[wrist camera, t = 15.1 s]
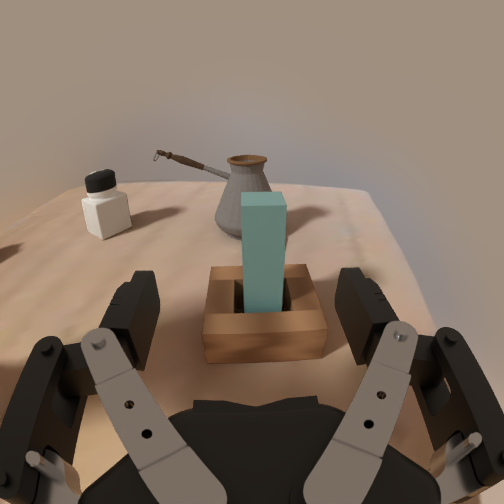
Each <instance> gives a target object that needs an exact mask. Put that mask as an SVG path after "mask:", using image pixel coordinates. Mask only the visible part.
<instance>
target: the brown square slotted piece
mask: <svg viewBox="0 0 504 504" xmlns="http://www.w3.org/2000/svg"><path fill="white" fill-rule="evenodd" d="M282 306H284V307H285V312H264V313H236V308H244V288H243V266H224V267H211V272H210V278H209V285H208V292H207V299H206V306H205V314H204V321H203V329H202V338H203V344H204V350H205V355H206V360H207V363H258V362H278V361H293V360H306V359H317V358H322V355H323V351H324V346H325V342H326V337H327V333H328V326H327V323H326V320H325V317H324V315H323V312H322V309H321V306H320V303H319V300H318V297H317V294H316V291H315V288H314V286H313V283H312V280H311V277H310V274H309V272H308V269H307V266H306V264H290V265H284V279H283V297H282Z"/></svg>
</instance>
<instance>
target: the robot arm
mask: <svg viewBox="0 0 504 504" xmlns="http://www.w3.org/2000/svg"><path fill="white" fill-rule="evenodd" d="M335 309H336V312H337V314H338V317H339V319H340V322H341V324H342V327H343V330H344V332H345V335H346V337H347V340H348V343H349V345H350V348H351V351H352V354H353V356H354V359H355V362H356V364H357V365H363V364H366V365H367V367H368V369H367V371H366V373H365V376H364V378H363V380H362V382H361V384H360V386H359V388H358V390H357V392H356V394H355V396H354V398H353V400H352V402H351V404H350V406H349V408H348V410H347V412H346V413H345V412H343V411H342V410H339V409H337V408H335V407H332V406H328V405H324V404H319V403H318V399H317V396H308V397H297V398H287V399H283V400H280V401H276V402H273V403H269V404H266V405H262V406H257V407H254V406H248V405H243V404H238V403H233V402H228V401H211V400H194V403H193V408H192V409H188V410H184V411H181V412H179V413H176V414H174V415H172V416H171V417H169V418H167V417H166V415H165V414H164V412H163V411H162V410H161V408H160V407H159V405H158V404H157V402H156V401H155V399H154V398H153V396H152V395H151V393H150V391H149V390H148V388H147V387H146V385H145V384H144V382H143V380H142V379H141V377H140V375H139V374H138V372H137V371H136V370H141V371H144V369H145V365H146V361H147V357H148V354H149V350H150V346H151V342H152V338H153V335H154V331H155V327H156V324H157V320H158V317H159V313H160V298H159V294H158V289H157V284H156V279H155V275H154V272H153V271H135V273H134V275H133V277H132V279H131V281H130V282H124V283H123V284H122V285H121V286H120V287H119V288H118V289H117V290H116V292H115V294H114V296H113V299H112V300H111V302H110V306H108V308H107V310H106V313H105V315H104V317H103V319H102V321H101V323H100V325H99V328H97V329H93V330H91V331H90V332H88V333H87V334H86V335H85V336H84V337H83V339H82V341H81V342H80V343H75V344H69V345H63V344H62V342H61V340H60V339H59V338H58V337H55V336H48V337H45V338H42V339H41V340H39V341H38V342H37V343H36V344H35V346H34V347H33V349H32V352H31V354H30V356H29V358H28V360H27V362H26V364H25V367H24V369H23V371H22V373H21V376H20V378H19V380H18V383H17V385H16V387H15V390H14V392H13V395H12V397H11V400H10V403H9V405H8V408H7V411H6V413H5V416H4V419H3V422H2V425H1V428H0V498H2V499H3V500H5V501H7V502H9V503H11V504H451V503H462V502H464V501H466V500H468V499H470V498H472V497H474V496H476V495H478V494H480V493H481V492H483V491H485V490H487V489H488V488H490V487H492V486H493V485H495V484H497V483H498V482H500V481H501V480H503V479H504V414H503V411H502V409H501V407H500V405H499V403H498V401H497V399H496V397H495V395H494V392H493V390H492V389H491V386H490V384H489V382H488V381H487V379H486V377H485V375H484V373H483V371H482V369H481V367H480V366H479V364H478V362H477V360H476V359H475V357H474V355H473V353H472V351H471V350H470V348H469V346H468V344H467V343H466V341H465V340H464V338H463V336H462V335H461V334H460V333H459V332H458V331H456V330H455V329H452V328H449V327H443V328H440V329H439V330H438V331H437V332H436V334H435V336H425V335H418V334H417V331H416V330H415V328H414V327H412V326H411V325H410V324H408V323H406V322H403V321H399V319H398V317H397V315H396V314H395V312H394V310H393V309H392V307H391V305H390V304H389V302H388V300H387V299H386V297H385V295H384V294H383V292H382V290H381V289H380V287H379V286H378V284H376V283H375V282H374V281H373V280H371V279H370V278H365V276H364V275H363V273H362V271H361V270H360V268H358V267H355V268H342V269H341V271H340V275H339V280H338V284H337V289H336V294H335ZM444 378H446V380H447V382H448V384H449V387H450V390H451V394H450V392H449V390H448V388H447V385H446V383H445V381H444ZM409 385H410V386H412V387H413V390H414V393H415V395H416V398H417V401H418V403H419V406H420V409H421V412H422V415H423V418H424V421H425V424H426V427H427V430H428V433H429V436H430V439H431V442H432V445H433V449H434V452H435V453H434V454H433V455H432V458H431V461H430V466H431V467H430V469H429V472H428V471H427V470H425V469H424V468H422V467H421V466H419V465H418V464H416V463H415V462H413V461H412V460H410V459H409V458H407V457H406V456H404V455H403V454H402V453H400V452H399V451H397V450H396V449H395V448H393V447H392V446H390V445H389V444H388V442H389V439H390V437H391V434H392V432H393V429H394V426H395V424H396V421H397V418H398V416H399V413H400V410H401V407H402V404H403V401H404V398H405V395H406V392H407V389H408V386H409ZM94 394H98V395H99V397H100V400H101V402H102V404H103V406H104V408H105V410H106V412H107V414H108V416H109V418H110V420H111V422H112V424H113V426H114V428H115V430H116V432H117V434H118V436H119V438H120V439H121V441H122V443H123V445H124V447H125V448H126V450H127V452H128V454H127V455H125V456H124V457H123V458H122V459H121V460H120V461H118V462H117V463H116V464H115V465H114V466H113V467H111V468H110V469H109V470H108V471H107V472H106V473H104V474H103V475H102V476H101V477H100V478H98V479H97V480H96V481H95V482H94V483H92V484H91V485H90V486H89V487H87V488H86V489H85V490H84V492H83V493H82V492H81V489H80V478H79V474H78V472H77V471H76V469H75V468H74V467H73V466H72V464H73V458H74V453H75V448H76V443H77V438H78V434H79V429H80V425H81V420H82V416H83V412H84V408H85V404H86V400H87V397H88V395H94Z"/></svg>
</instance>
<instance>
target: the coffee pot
mask: <svg viewBox="0 0 504 504" xmlns="http://www.w3.org/2000/svg"><path fill="white" fill-rule="evenodd" d="M156 154H158V157H159V155H161V156H166V157H167V159H170V158H171V159H173V160H175V161H177V162H179V163H181V164H184V165H188V166H191V167H195V168H198V169H201V170H206V171H208V172H210V173H213V174H216V175H218V176H221V177H223V178H226V179H228V182H227V184H226V187H225V190H224V192H223V195H222V197H221V200H220V203H219V205H218V208H217V211H216V213H215V221H216V223H217V225H218V226H219V228H220V229H221V230H222V231H224V232H225V233H227V234H228V235H229V236H230V237H232V238H235V239H239V240H242V226H241V192H272V191H271V189H270V186H269V184H268V181H267V179H266V177H265V175H264V172H263V167H264V163H265V162H266V161H267V158H266V157H263V156H256V155H241V156H234V157H231V158H228V159H227V162H228V163H230V166H231V170H232V172H231V174H228V173H225V172H222V171H220V170H216V169H214V168H211V167H208V166H205V165H203V164H201V163H198V162H196V161H193V160H191V159H189V158H186V157H184V156H178V155H173V154H172V153H171V152H169V153H166V152H164V151H161V150H157V152H156ZM156 154H155V156H154V161H156V160H157V159H158V157H157V159H156V160H155V157H156Z"/></svg>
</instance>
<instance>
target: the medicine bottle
mask: <svg viewBox="0 0 504 504" xmlns="http://www.w3.org/2000/svg"><path fill="white" fill-rule="evenodd" d="M85 184H86V189H87V195H88V196H89V197H87V198H84V199H82V206H83V211H84V215H85V220H86V224H87V228H88V231H89V232H90V233H92V234H93V235H95V236H97V237H99V238H100V239H102V240H105V239H107V238H109V237H111V236H113V235H115V234H118V233H120V232H122V231H124V230H126V229H128V228H131V227H132V223H131V217H130V212H129V206H128V200H127V194H126V193H123V192H119V191H116V190H117V185H116V179H115V172H114V171H113V170H109V169H104V170H99V171H95V172H92V173H90V174H89V175H87V176H86V178H85Z"/></svg>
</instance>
